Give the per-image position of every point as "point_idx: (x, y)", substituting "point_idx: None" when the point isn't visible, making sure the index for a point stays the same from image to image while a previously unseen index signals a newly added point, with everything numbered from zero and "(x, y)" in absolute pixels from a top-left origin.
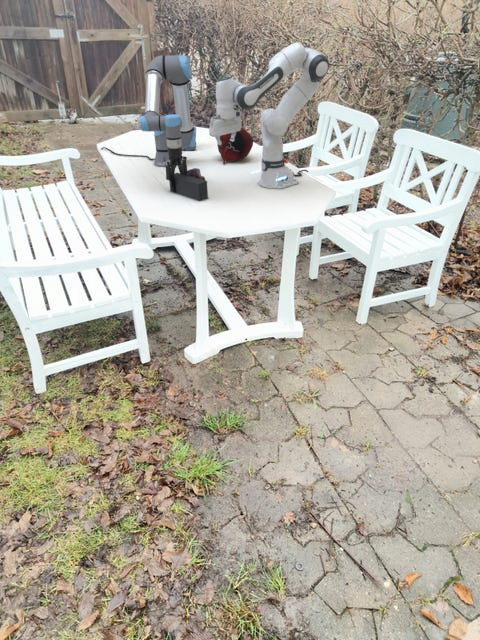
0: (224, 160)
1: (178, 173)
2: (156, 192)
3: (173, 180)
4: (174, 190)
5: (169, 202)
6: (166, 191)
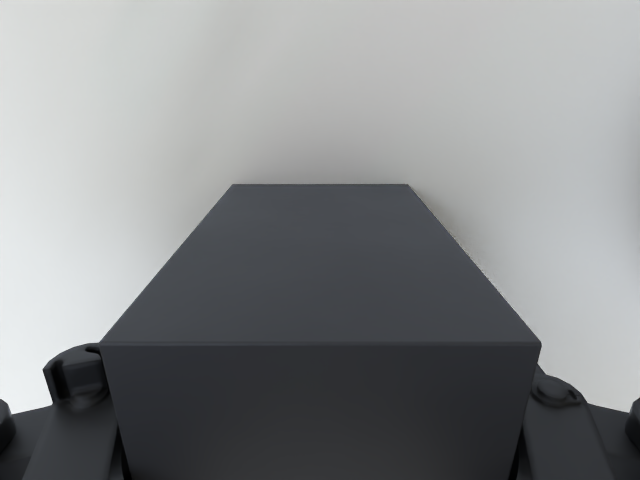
0: None
1: (474, 441)
2: (16, 41)
3: None
4: None
5: None
6: (183, 137)
